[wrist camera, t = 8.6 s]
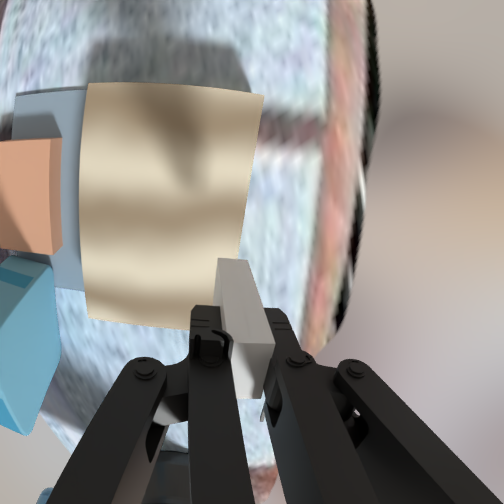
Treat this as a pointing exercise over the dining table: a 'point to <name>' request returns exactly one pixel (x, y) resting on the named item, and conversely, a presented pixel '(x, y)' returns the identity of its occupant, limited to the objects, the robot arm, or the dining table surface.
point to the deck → (161, 196)
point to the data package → (26, 340)
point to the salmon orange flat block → (31, 195)
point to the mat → (70, 129)
